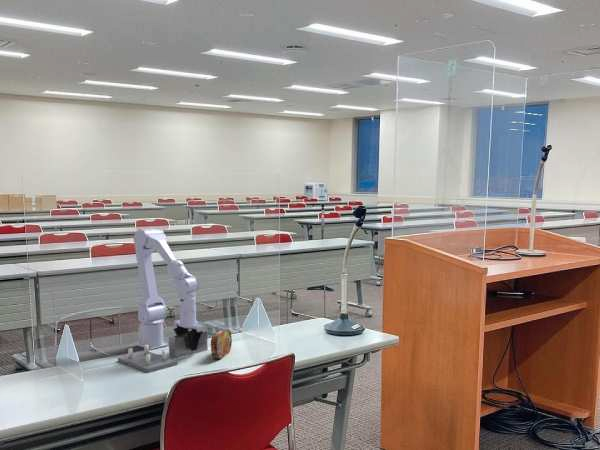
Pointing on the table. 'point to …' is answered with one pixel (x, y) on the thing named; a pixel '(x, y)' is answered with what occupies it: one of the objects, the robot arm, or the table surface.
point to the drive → (185, 345)
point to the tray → (148, 360)
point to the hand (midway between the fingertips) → (188, 348)
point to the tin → (221, 344)
